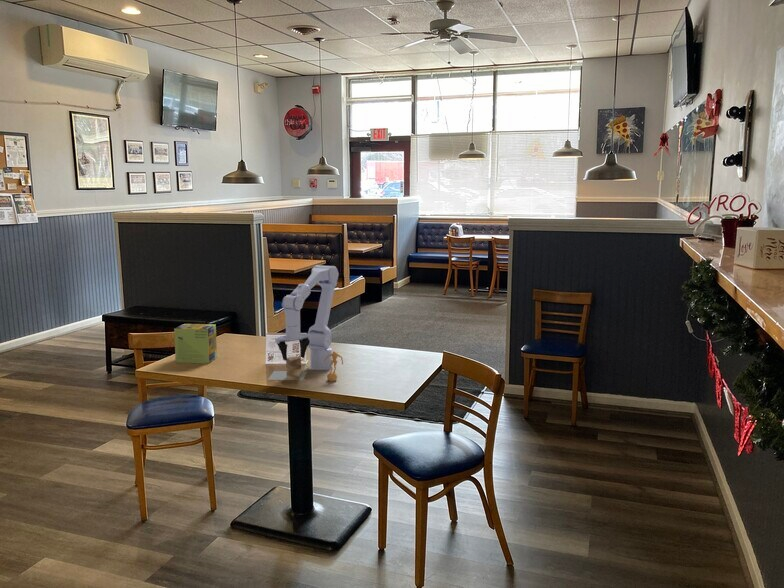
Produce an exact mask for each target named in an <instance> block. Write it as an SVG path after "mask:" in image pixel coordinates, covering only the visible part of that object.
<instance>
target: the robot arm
mask: <svg viewBox="0 0 784 588" xmlns="http://www.w3.org/2000/svg"><path fill="white" fill-rule="evenodd" d="M339 275H340V273H339V270H338V268H337V267H336V266H335V265H319V264H316V265H313V268H311V274H310V275H309V276H308V277H307V279H306V281H304V282H303V283H299V284H298V285H297V286H296V288H294V290H293V291H292V292H290V294H286V296H285V295H284V297H283V298H282V302H281V307H282V309H283V312H284V314H285V315H284V316H285V335H282V336H277V337H275V339H274V343H276V345H277V346H278V348H279V350H280V353H281V356H282V360H283V361H286V360H287V358H288V356H287V353H288V352H287V351H288V344H287V342H295V341H296V342H297V341H299V347H300V349H299V350H300V357H301V359H302V358H303V359H304V358H305V355H306V351H307V349H308V348H309V349H310V350H309V352H310V356H309V358H310V360H309V361H310V363H309V364H310V366H309V367H308V370H314V371H315V370H321V371H322V370H327V371H328V370H330V371H331V367H330V363H331V360H332V361H333V359H332V356H329V357H328V358H327V356H328V355H330V354H332V353H333V348H332V347H330V346H331V345H332V340H333V339H332V332H333V331H332V330H331V329H330V328H329V327H328V323H329V318H330V313H331V308H332V303H333V298H334V294H335V288H336V287H337V284H338V279H339ZM316 285H318V286H320V287H321V291H320V293H321V294H320V297H319V301H318V307H317V312H316V317H315V322H314V324H313V325H311V326H310V327H309V328H308V331H307V333H301V309H303V305H304V303H305V300H306V299H307V298H308V297H309V296H310V294H311V291H312V290H311V289H312V288H314V287H315V286H316ZM326 358H327V360H325V359H326ZM324 361H325V363H324Z"/></svg>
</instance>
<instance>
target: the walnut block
mask: <svg viewBox="0 0 784 588" xmlns="http://www.w3.org/2000/svg"><path fill="white" fill-rule="evenodd" d="M285 364H286V365H285V367H286V369H287V368H288V369H290V370H295V369H301V370H302V358H300V356H299V357H298V356H296V355H295V356H290V357H287V360H285Z"/></svg>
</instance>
